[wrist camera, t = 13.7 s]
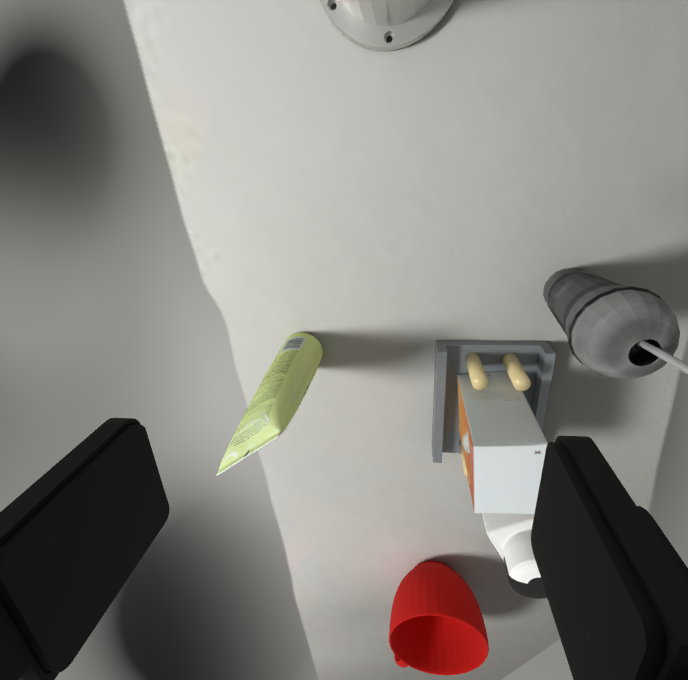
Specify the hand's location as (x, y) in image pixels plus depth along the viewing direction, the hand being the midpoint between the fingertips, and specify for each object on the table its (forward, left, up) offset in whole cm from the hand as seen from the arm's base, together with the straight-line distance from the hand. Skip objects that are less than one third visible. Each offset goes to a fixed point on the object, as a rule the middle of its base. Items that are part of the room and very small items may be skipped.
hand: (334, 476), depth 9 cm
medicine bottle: (+36, +16, -36) cm, 54 cm away
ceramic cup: (+54, +5, -36) cm, 65 cm away
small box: (+20, +11, -35) cm, 42 cm away
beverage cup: (+7, +18, -36) cm, 41 cm away
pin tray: (+20, +11, -36) cm, 43 cm away
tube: (+14, -11, -36) cm, 41 cm away
